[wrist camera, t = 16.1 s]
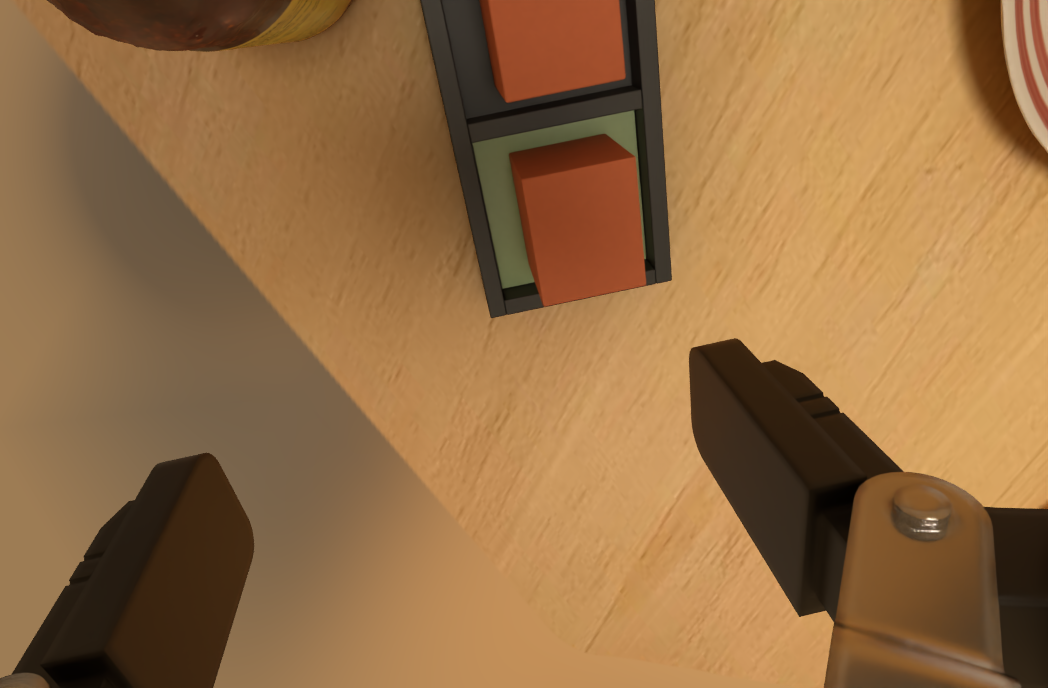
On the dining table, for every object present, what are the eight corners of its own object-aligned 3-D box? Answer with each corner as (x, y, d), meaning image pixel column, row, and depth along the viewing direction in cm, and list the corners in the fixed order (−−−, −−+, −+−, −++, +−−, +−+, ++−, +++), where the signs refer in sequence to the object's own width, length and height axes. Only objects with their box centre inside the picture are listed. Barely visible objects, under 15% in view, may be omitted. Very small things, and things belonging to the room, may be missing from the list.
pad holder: (487, 301, 33) (490, 318, 31) (398, -103, 24) (395, -112, 22) (659, 265, 33) (672, 280, 31) (629, -148, 24) (645, -161, 23)
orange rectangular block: (494, 87, 27) (505, 103, 23) (467, -61, 25) (474, -75, 20) (596, 67, 27) (626, 79, 23) (580, -84, 25) (611, -102, 20)
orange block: (528, 264, 31) (543, 307, 27) (508, 152, 28) (521, 179, 24) (617, 246, 31) (646, 285, 27) (605, 132, 29) (635, 156, 24)
